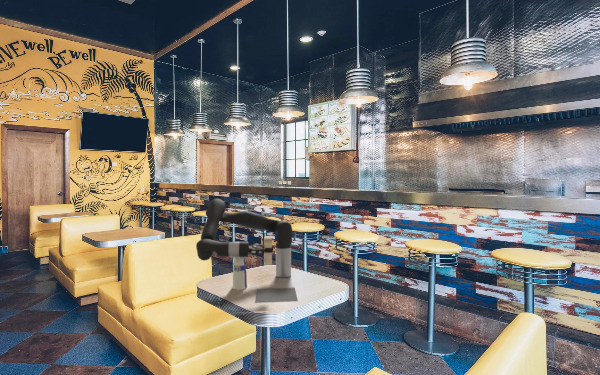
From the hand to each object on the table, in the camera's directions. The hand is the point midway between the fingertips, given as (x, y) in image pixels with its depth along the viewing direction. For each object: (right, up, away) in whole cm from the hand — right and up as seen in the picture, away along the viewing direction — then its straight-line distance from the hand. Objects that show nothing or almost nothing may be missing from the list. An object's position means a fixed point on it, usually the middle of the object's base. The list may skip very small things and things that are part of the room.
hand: (273, 248), depth 164 cm
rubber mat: (+1, -23, +1) cm, 24 cm away
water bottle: (-19, -24, +13) cm, 33 cm away
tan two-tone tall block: (-2, -7, 0) cm, 8 cm away
